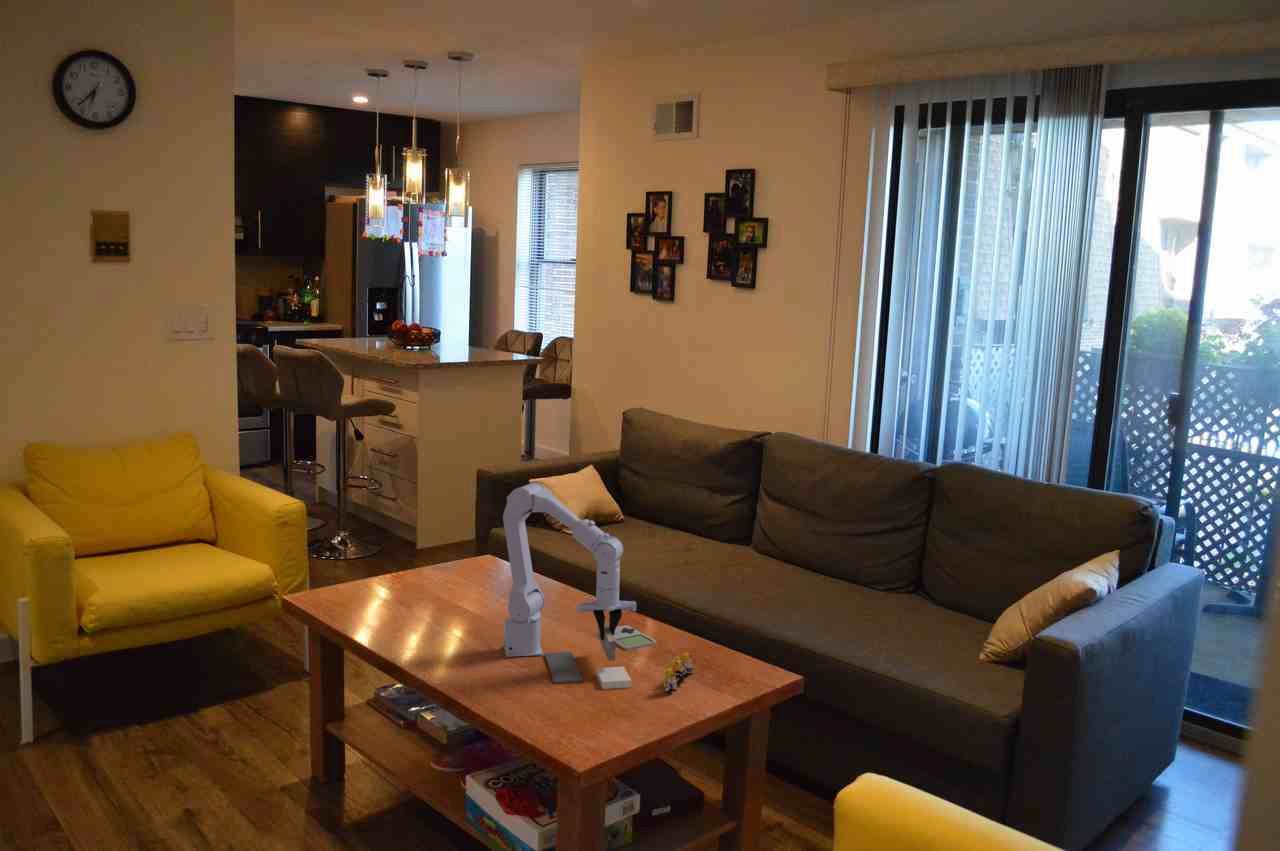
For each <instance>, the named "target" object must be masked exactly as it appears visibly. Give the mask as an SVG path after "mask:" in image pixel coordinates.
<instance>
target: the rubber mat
mask: <svg viewBox="0 0 1280 851" xmlns="http://www.w3.org/2000/svg"><path fill="white" fill-rule="evenodd" d="M544 658H545V660H546V663H547V666H548V670H549V672H550V675H551V679H552V681H553V684H554V685H555V684H556V685H557V684H573V683H583V682H584V680H583V677H582V675H581V673H580V669H579V667H578V664H577V662H576V659H575V656H574V654H573V652H572V651H559V652H558V651H557V652H556V651H555V652H544Z"/></svg>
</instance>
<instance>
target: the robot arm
mask: <svg viewBox="0 0 1280 851" xmlns="http://www.w3.org/2000/svg"><path fill="white" fill-rule="evenodd" d="M532 513H547V514H549V515H550V516H551V517H553V518H554V519H555V520H557V521H558V522H560V523H561V524H562V525H564V526H565V527H567V528H568V529H570V530H571V533H572V534H571V535H572V538H574V539H575V540H576V541H577V542H579V543H580V544H581V545H582V546H584V547H585V548H586V549H587V550H589V551H590V552H591V553H592V555H593V558H594V560H595V562H596V593H595V595H596V596H595V597H596V598H595V600H593V601H587V602H578V604H577V605H578V606H577V610H578V611H577V612H578V613H579V614H583V613H587V612H588V613H590V612H593V615H594V617H595V621H596V622H597V628H598V627H599V631H600V638H601V640H604V624H605V620H606V616H605V612H608V613H609V614H608V615H609V616H608V617H609V624H608V627H609V629H610V631H611V633H612V635H613V636H614V632H615V629H616V627H618V624H619V622H620V621H621V619H622V616H623V613H622V611H632V612H636V611H637V602H636V601H635V600H631V601H630V600H620V576H621V574H620V573H621V572H620V571H621V569H620V568H621V564H620V563H621V559H620V558H621V557H622V555H623V554H624V545H623V543H622V541H621V540H620V539H619V538H618V537H617V536H610V534H609V533H608V532H604V531H603V530H602V529H600V528H599V527H598V526H597V525H596V522H595V521H594V520H593V519H591V520H590V519H588V518H586V519H580V517H578V516H577V515H576V514H575V513H574V512H573V511H571V510H570V509H569V508H568V507H567V506H566V505H565V504H564V503H562V502H561V501H560V500H559V499H558V498H557V497H556V496H555V495H554V494H553V492H552V490H551V489H549V488H547V487H545V485H544V484H542V483H540V482H538V481H532V482H530V483H528V484H526V485H523V486H521V487H517V488H514V489H513V490H512V491H511V492H510V493H509V495H507V496H506V505H505V508H504V512H503V515H502V520H503V527H504V534H505V539H506V546H507V547H506V548H507V553H508V558H509V564H510V572H511V579H512V586H511V588H510V591H509V593H508V594H509V595H508V597H509V602H508V606H507V611H508V614H509V616H510V618H504V621H503V622H504V623H503V640H502V644H503V645H502V646H503V650H504V653H505V656H506V657H508V658H509V657H530V656H543V655H544V653H543V649H542V646H541V611H542V610H543V609H544V607H545V604H546V598H545V595H544V594H543V593H542V590H541V588H540V584H539V582H537V581H536V580H535V578H534V577H535V576H534V571H533V566H532V559H531V557H532V556H531V552H530V546H529V540H528V539H529V538H528V534H527V533H528V532H527V525H526V519H527V518H528V517H529V516H530V515H531V514H532Z"/></svg>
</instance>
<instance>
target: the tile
mask: <svg viewBox="0 0 1280 851" xmlns="http://www.w3.org/2000/svg"><path fill="white" fill-rule="evenodd" d="M595 676H596V678H597V680H598V683H599V685H600V687H601V689H602V690H611V689H628V688H630V689H631V688H632V678H631V677H630V675H629V674H628V672H627V670H626V668H625V666H612V667H611V666H610V667H596V668H595Z"/></svg>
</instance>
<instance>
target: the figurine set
mask: <svg viewBox="0 0 1280 851" xmlns="http://www.w3.org/2000/svg"><path fill="white" fill-rule="evenodd" d="M692 659H693V656H692V653H691V652H688V651H686V652H684V653H682V655H681V656H676V657H675V659H674V660H671V662H669V665H668V667H669V668H666V669H665V670H664V677H663V687H664V688H665V691H666V695H667V694H669V695H672V696H673V694H672V693H673V692H672V691H674V692H676V691H675V690H677V691H678V689H677V688H681V687H682V686H681V684H683V683H682V682H685V683H686V681H685V680H686V679H684V678H689V676H692V675H691V674H693V675H694V673H692V672H693V671H694V670H693V664H692V663H693V661H692ZM677 686H678V687H677ZM669 695H668V696H669Z"/></svg>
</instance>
